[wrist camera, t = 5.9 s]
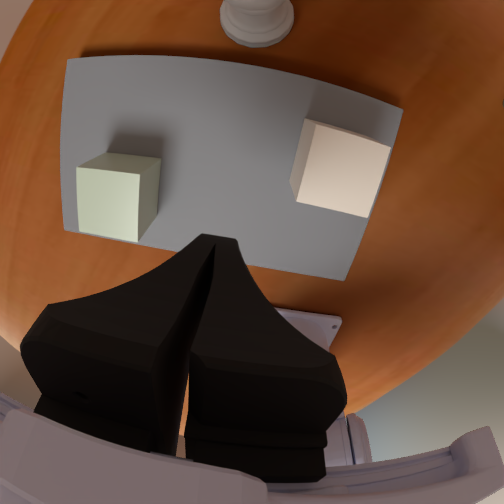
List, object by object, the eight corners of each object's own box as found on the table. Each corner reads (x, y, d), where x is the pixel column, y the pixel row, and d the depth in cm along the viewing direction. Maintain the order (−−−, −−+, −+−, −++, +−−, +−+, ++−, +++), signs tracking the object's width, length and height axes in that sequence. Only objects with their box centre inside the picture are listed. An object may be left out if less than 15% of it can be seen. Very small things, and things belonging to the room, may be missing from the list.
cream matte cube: (349, 194, 18) (367, 218, 15) (289, 180, 18) (296, 201, 15) (366, 136, 16) (390, 147, 13) (304, 118, 16) (316, 124, 13)
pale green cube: (156, 216, 19) (137, 242, 16) (104, 207, 19) (79, 231, 16) (161, 158, 17) (139, 174, 14) (105, 152, 17) (76, 167, 14)
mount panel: (340, 270, 23) (352, 302, 19) (73, 221, 21) (47, 245, 18) (393, 108, 16) (422, 113, 13) (79, 59, 15) (45, 58, 11)
